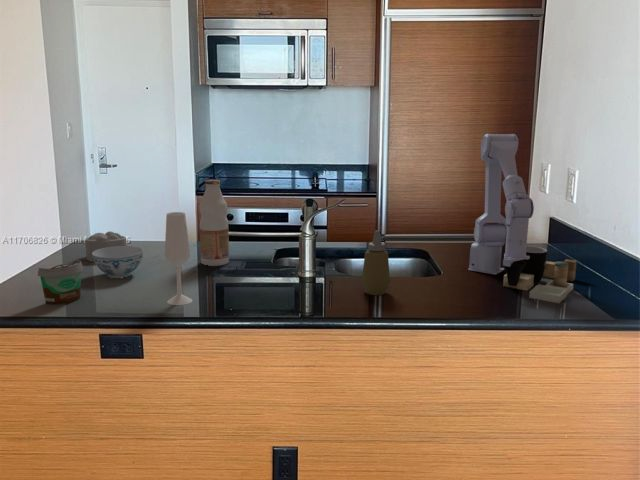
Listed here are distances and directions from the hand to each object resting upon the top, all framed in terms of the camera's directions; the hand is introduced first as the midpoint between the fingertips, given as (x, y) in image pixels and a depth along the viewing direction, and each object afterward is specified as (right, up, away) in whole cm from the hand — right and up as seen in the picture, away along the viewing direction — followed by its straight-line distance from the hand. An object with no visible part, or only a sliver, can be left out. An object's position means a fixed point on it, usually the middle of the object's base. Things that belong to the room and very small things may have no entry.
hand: (512, 285), depth 171 cm
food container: (-124, -3, -13) cm, 125 cm away
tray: (+8, -3, -7) cm, 11 cm away
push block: (+3, -1, +4) cm, 5 cm away
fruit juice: (-92, +5, +27) cm, 96 cm away
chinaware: (-119, +2, +11) cm, 119 cm away
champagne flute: (-94, -4, -13) cm, 95 cm away
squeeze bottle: (-41, -2, -4) cm, 41 cm away
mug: (+8, +1, +10) cm, 13 cm away
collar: (+14, -1, 0) cm, 14 cm away
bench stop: (+15, +2, +15) cm, 21 cm away
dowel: (+14, -1, 0) cm, 14 cm away
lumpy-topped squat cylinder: (-130, +7, +32) cm, 134 cm away
